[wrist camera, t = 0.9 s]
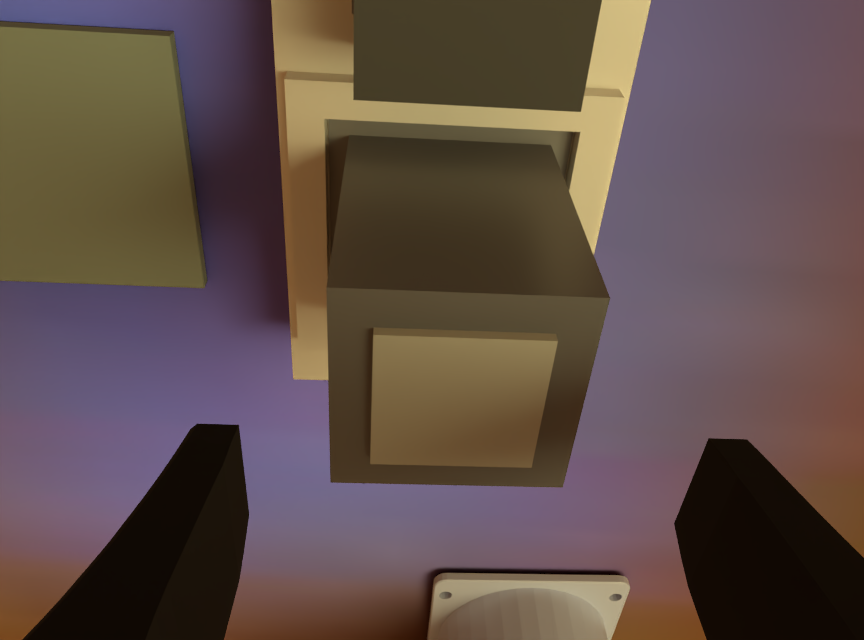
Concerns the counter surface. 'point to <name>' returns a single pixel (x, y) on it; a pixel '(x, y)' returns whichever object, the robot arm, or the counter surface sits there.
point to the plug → (475, 52)
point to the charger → (458, 315)
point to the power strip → (342, 116)
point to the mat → (95, 159)
